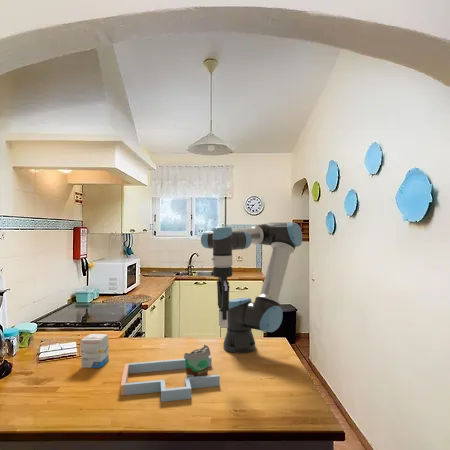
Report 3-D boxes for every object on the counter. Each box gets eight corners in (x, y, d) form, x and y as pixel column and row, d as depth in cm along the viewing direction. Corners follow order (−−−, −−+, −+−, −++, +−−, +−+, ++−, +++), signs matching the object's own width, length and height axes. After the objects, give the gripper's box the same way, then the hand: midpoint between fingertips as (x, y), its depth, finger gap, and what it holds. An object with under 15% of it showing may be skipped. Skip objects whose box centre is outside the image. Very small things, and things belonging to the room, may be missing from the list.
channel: (211, 364, 150) (210, 356, 150) (223, 395, 123) (223, 385, 123) (125, 372, 143) (125, 363, 143) (118, 406, 117) (118, 395, 117)
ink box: (109, 360, 157) (109, 333, 157) (100, 368, 148) (100, 339, 148) (90, 360, 157) (90, 333, 157) (80, 367, 149) (80, 339, 149)
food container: (196, 383, 133) (195, 356, 133) (184, 379, 136) (183, 353, 136) (217, 372, 142) (216, 347, 142) (205, 369, 146) (204, 344, 146)
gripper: (210, 264, 148) (210, 321, 148) (216, 268, 133) (217, 333, 133) (228, 263, 150) (228, 320, 150) (236, 268, 134) (237, 331, 134)
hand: (223, 326), depth 141 cm, fingers open, 3 cm apart
